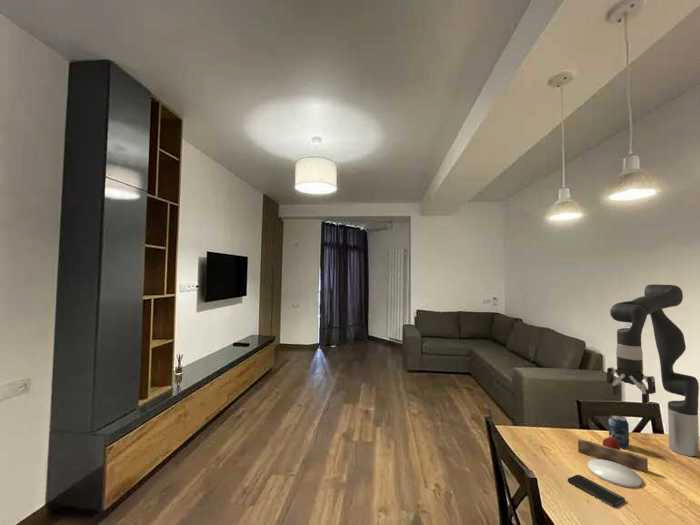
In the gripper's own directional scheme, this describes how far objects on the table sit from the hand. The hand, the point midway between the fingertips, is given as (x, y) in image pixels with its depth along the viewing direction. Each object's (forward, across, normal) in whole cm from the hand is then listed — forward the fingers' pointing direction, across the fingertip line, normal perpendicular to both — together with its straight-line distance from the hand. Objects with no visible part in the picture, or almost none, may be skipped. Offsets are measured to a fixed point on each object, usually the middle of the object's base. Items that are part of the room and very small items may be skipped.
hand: (630, 399), depth 121 cm
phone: (+30, +2, +21) cm, 37 cm away
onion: (+29, +12, -12) cm, 34 cm away
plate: (+29, +4, +3) cm, 30 cm away
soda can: (+29, +15, -25) cm, 41 cm away
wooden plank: (+29, +10, -6) cm, 31 cm away
